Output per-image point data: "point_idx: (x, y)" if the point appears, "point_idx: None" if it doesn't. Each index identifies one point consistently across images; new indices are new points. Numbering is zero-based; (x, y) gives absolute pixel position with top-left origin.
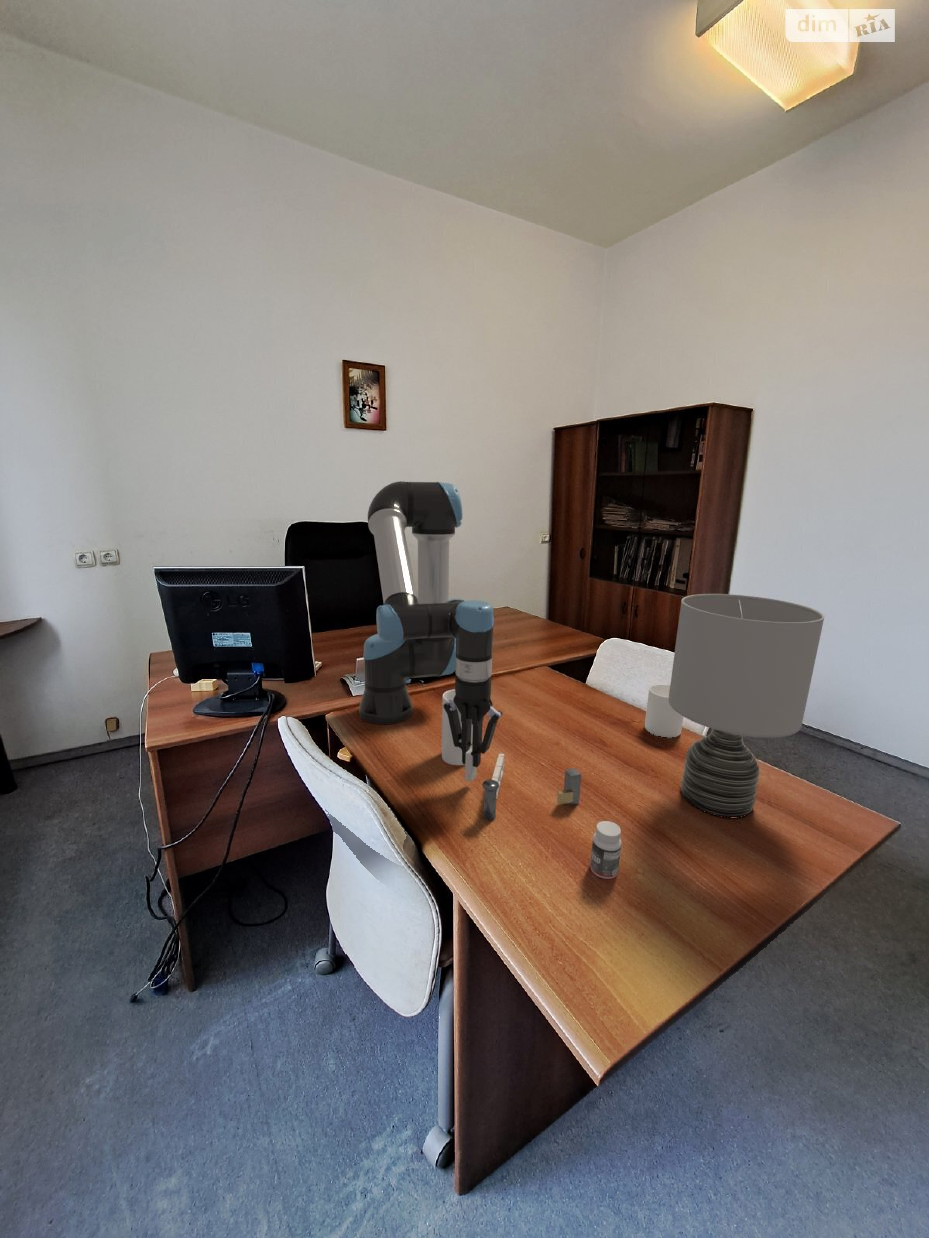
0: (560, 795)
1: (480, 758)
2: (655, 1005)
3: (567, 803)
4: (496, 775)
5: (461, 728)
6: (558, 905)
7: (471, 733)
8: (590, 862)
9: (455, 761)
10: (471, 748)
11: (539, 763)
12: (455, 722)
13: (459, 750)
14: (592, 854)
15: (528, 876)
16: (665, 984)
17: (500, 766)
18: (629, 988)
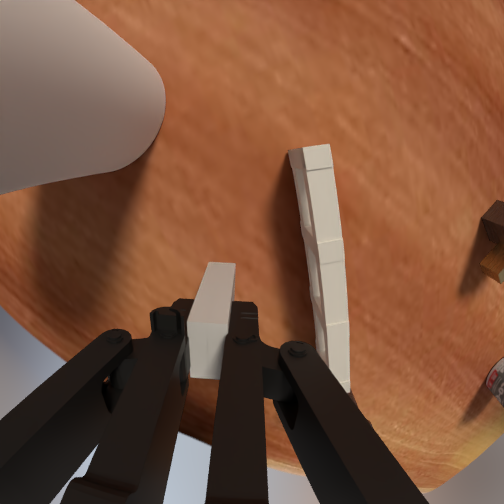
0: (498, 282)
1: (257, 320)
2: (476, 454)
3: (489, 236)
4: (341, 329)
5: (40, 171)
6: (434, 442)
7: (104, 110)
8: (490, 384)
9: (112, 170)
10: (194, 330)
11: (395, 41)
12: (60, 471)
13: (102, 167)
14: (498, 398)
15: (405, 435)
16: (490, 440)
17: (341, 258)
18: (466, 457)
